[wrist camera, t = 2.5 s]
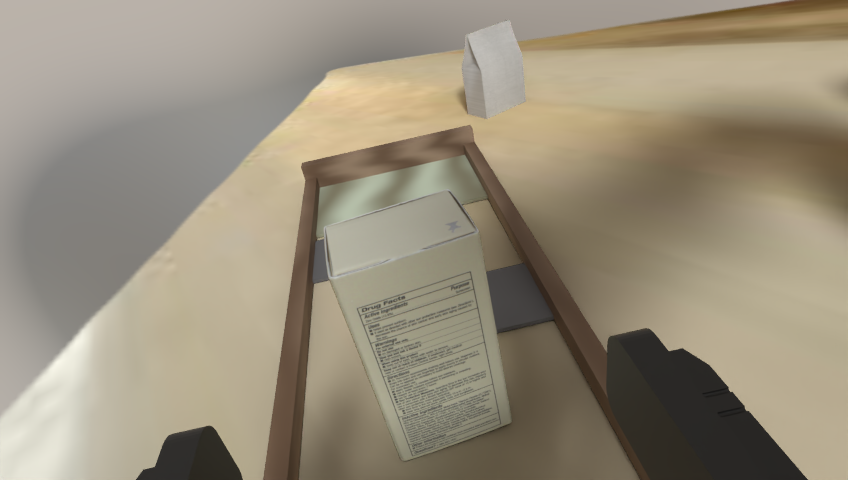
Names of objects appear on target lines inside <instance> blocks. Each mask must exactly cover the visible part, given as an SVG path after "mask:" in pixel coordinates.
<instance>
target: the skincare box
mask: <svg viewBox="0 0 848 480" xmlns="http://www.w3.org/2000/svg"><path fill="white" fill-rule="evenodd" d="M323 230H324V244H325V256H326V265H327V273H328V278H329V280H330V283H331V285H332V287H333V290H334V292H335V295H336V297H337V300H338V302H339V305H340V307H341V310H342V312H343V315H344V318H345V320H346V323H347V325H348V328H349V330H350V333H351V335H352V338H353V340H354V343H355V345H356V348H357V350H358V353H359V355H360V358H361V360H362V363H363V366H364V368H365V371H366V373H367V376H368V378H369V381H370V383H371V386H372V388H373V391H374V393H375V396H376V398H377V401H378V403H379V406H380V409H381V411H382V414H383V416H384V419H385V422H386V425H387V427H388V429H389V432H390V434H391V437H392V439H393V442H394V444H395V447H396V449H397V451H398V454H399V457H400V459H401V460H403V461H407V460H410V459H413V458H417V457H420V456H423V455H425V454H429V453H432V452H435V451H437V450H440V449H443V448H446V447H449V446H451V445H454V444H457V443H460V442H462V441H465V440H468V439H471V438H473V437H476V436H479V435H481V434H484V433H486V432H489V431H492V430H494V429H497V428H499V427H502V426H505V425H507V424H509V423H511V422H512V417H511V412H510V406H509V400H508V395H507V389H506V383H505V377H504V371H503V366H502V360H501V354H500V348H499V343H498V337H497V331H496V325H495V320H494V314H493V309H492V303H491V297H490V292H489V286H488V280H487V275H486V269H485V263H484V257H483V251H482V245H481V239H480V234H479V230H478V229H477V227H476V226H475V224H474V222H473V221H472V219H471V218H470V216H469V214H468V213H467V212H466V210H465V209H464V207H463V206H462V204H461V203H460V202H459V200H458V199H457V198H456V196H455V195H454V194H453V193H452V192H451V190H450V189H445V190H442V191H439V192H435V193H432V194H428V195H425V196H422V197H418V198H415V199H411V200H408V201H405V202H401V203H398V204H395V205H392V206H388V207H385V208H382V209H379V210H376V211H373V212H370V213H366V214H363V215H360V216H356V217H353V218H350V219H347V220H344V221H341V222H338V223H334V224H331V225H328V226H325V227H324V229H323Z"/></svg>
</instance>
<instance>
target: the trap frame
mask: <svg viewBox="0 0 848 480" xmlns="http://www.w3.org/2000/svg"><path fill="white" fill-rule="evenodd" d="M301 168H302V171H303V174H304V177H305V180H306V181H305V188H304V195H303V202H302V209H301V216H300V223H299V230H298V238H297V245H296V252H295V259H294V266H293V273H292V280H291V287H290V294H289V301H288V308H287V315H286V322H285V329H284V337H283V344H282V351H281V358H280V365H279V372H278V379H277V386H276V393H275V400H274V407H273V414H272V421H271V428H270V436H269V443H268V450H267V457H266V464H265V471H264V478H263V480H298V476H299V463H300V450H301V437H302V425H303V412H304V399H305V386H306V373H307V360H308V348H309V335H310V322H311V309H312V296H313V281H312V279H313V267H314V254H315V242H316V241H317V238H319V237H324V230H323V229H324V227H325V226H328V225H331V224H334V223H338V222H341V221H344V220H347V219H350V218H353V217H356V216H360V215H363V214H366V213H370V212H373V211H376V210H379V209H382V208H385V207H388V206H392V205H395V204H398V203H401V202H405V201H408V200H411V199H415V198H418V197H422V196H425V195H428V194H432V193H435V192H439V191H442V190H445V189H450V190H451V192H452V193H453V194H454V195H455V196H456V198H457V199H458V200H459V202H460V203H461V204H462V205H463V204H467V203H472V202H476V201H480V200H485V199H488V200H489V202H490V203H491V205H492V207H493V209H494V211H495V213H496V214H497V216H498V218H499V220H500V222H501V224H502V225H503V227H504V229H505V231H506V233H507V235H508V236H509V238H510V240H511V242H512V244H513V246H514V247H515V249H516V251H517V253H518V255H519V257H520V258H521V260H522V262H523V263H525V265H526V267H527V268H528V270H529V272H530V274H531V276H532V278H533V279H534V281H535V283H536V285H537V287H538V288H539V290H540V292H541V294H542V296H543V298H544V299H545V301H546V303H547V305H548V307H549V308H550V310H551V312H552V314H553V316H554V321H555V323H556V324H557V326H558V328H559V330H560V332H561V334H562V335H563V337H564V339H565V341H566V343H567V345H568V346H569V348H570V350H571V352H572V354H573V356H574V357H575V359H576V361H577V363H578V365H579V367H580V368H581V370H582V372H583V374H584V376H585V378H586V379H587V381H588V383H589V385H590V387H591V389H592V390H593V392H594V394H595V396H596V398H597V400H598V401H599V403H600V405H601V407H602V409H603V411H604V412H605V414H606V416H607V418H608V420H609V422H610V423H611V425H612V427H613V429H614V431H615V433H616V434H617V436H618V438H619V440H620V442H621V444H622V445H623V447H624V449H625V451H626V453H627V455H628V456H629V458H630V460H631V462H632V464H633V466H634V467H635V469H636V471H637V473H638V475H639V477H640V478H641V480H650V479H649V477H648V475H647V473H646V472H645V470H644V468H643V466H642V465H641V463H640V461H639V459H638V458H637V456H636V454H635V452H634V451H633V449H632V447H631V445H630V443H629V442H628V440H627V438H626V436H625V435H624V433H623V431H622V429H621V428H620V426H619V424H618V422H617V421H616V419H615V417H614V415H613V412H612V410H611V407H610V404H609V401H608V397H607V391H606V376H607V353H606V351H605V349H604V348H603V346H602V345H601V343H600V341H599V340H598V338H597V337H596V335H595V333H594V332H593V330H592V329H591V327H590V325H589V324H588V322H587V321H586V319H585V317H584V316H583V314H582V313H581V311H580V310H579V308H578V306H577V305H576V303H575V302H574V300H573V298H572V297H571V295H570V294H569V292H568V290H567V289H566V287H565V286H564V284H563V282H562V281H561V279H560V278H559V276H558V274H557V273H556V271H555V270H554V268H553V266H552V265H551V263H550V262H549V260H548V259H547V257H546V255H545V254H544V252H543V251H542V249H541V247H540V246H539V244H538V243H537V241H536V239H535V238H534V236H533V235H532V233H531V231H530V230H529V228H528V227H527V225H526V223H525V222H524V220H523V219H522V217H521V215H520V214H519V212H518V211H517V209H516V207H515V206H514V204H513V203H512V201H511V200H510V198H509V196H508V195H507V193H506V192H505V190H504V188H503V187H502V185H501V184H500V182H499V180H498V179H497V177H496V176H495V174H494V172H493V171H492V169H491V168H490V166H489V164H488V163H487V161H486V160H485V158H484V156H483V155H482V153H481V152H480V150H479V149H478V147H477V145H476V144H475V142H474V136H473V129H472V127H471V126H470V125H468V126H463V127H459V128H454V129H450V130H446V131H441V132H437V133H432V134H428V135H423V136H419V137H415V138H410V139H406V140H401V141H397V142H393V143H388V144H384V145H379V146H375V147H371V148H366V149H362V150H357V151H353V152H348V153H344V154H340V155H335V156H331V157H326V158H322V159H318V160H313V161H309V162H304V163H302V166H301Z"/></svg>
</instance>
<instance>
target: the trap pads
mask: <svg viewBox="0 0 848 480" xmlns="http://www.w3.org/2000/svg"><path fill="white" fill-rule="evenodd" d="M486 275H487V280H488V286H489V292H490V297H491V303H492V309H493V314H494V320H495V325H496V331H497V333H499V332H504V331H508V330H512V329H516V328H521V327H525V326H529V325H533V324H538V323H542V322H546V321H550V320H554V316H553V314H552V312H551V310H550V308H549V307H548V305H547V303H546V301H545V299H544V298H543V296H542V294H541V292H540V290H539V288H538V287H537V285H536V283H535V281H534V279H533V278H532V276H531V274H530V272H529V270H528V268H527V267H526V265H525V263H522V264H518V265H514V266H509V267H505V268H501V269H497V270H492V271H488V272H486ZM327 280H329V278H328V273H327V265H326V256H325V244H324V239H322V240H318V241H316V242H315V254H314V267H313V279H312V281H313V284H314V283H318V282H322V281H327Z"/></svg>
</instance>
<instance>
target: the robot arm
mask: <svg viewBox="0 0 848 480" xmlns="http://www.w3.org/2000/svg"><path fill="white" fill-rule="evenodd" d="M606 391H607V397H608V401H609V404H610V407H611V410H612V412H613V415H614V417H615V419H616V421H617V422H618V424H619V426H620V428H621V429H622V431H623V433H624V435H625V436H626V438H627V440H628V442H629V443H630V445H631V447H632V449H633V451H634V452H635V454H636V456H637V458H638V459H639V461H640V463H641V465H642V466H643V468H644V470H645V472H646V473H647V475H648V477H649V479H650V480H808V479H807V478H806V477H805V476H804V475H803V474H802V472H801V471H800V470H799V469H798V468H797V467H796V465H795V464H794V463H793V462H792V461H791V460H790V458H789V457H788V456H787V455H786V454H785V453H784V452H783V450H782V449H781V448H780V447H779V446H778V445H777V443H776V442H775V441H774V440H773V439H772V438H771V436H770V435H769V434H768V433H767V432H766V431H765V429H764V428H763V427H762V426H761V425H760V424H759V422H758V421H757V420H756V419H755V418H754V417H753V415H752V414H751V413H750V412H749V411H746V410H745V406H744V405H743V404H742V403H741V402H740V400H739V399H738V398H737V397H736V396H735V395H734V393H733V392H730V391H729V389H728V386H727V385H726V384H725V383H724V382H723V381H722V379H721V378H720V377H719V376H718V375H717V374H716V372H715V371H714V370H713V369H712V368H711V367H710V365H708V364H707V363H705V362H703V361H702V360H700V359H699V358H697V357H696V356H694V355H692V354H691V353H689V352H688V351H686V350H684V349H683V348H682V349H678V350H673V351H668V350H667V349H666V347H665V346H664V345H663V344H662V342H661V341H660V340H659V338H658V337H657V336H656V335H655V334H654V332H652V331H651V330H650V329H647V328H645V329H640V330H636V331H632V332H627V333H623V334H618V335H614V336H610V337H609V339H608V345H607V376H606ZM136 480H243V479H242V475H241V472H240V470H239V468H238V467H237V465H236V463H235V462H234V460H233V458H232V457H231V455H230V453H229V452H228V450H227V448H226V446H225V445H224V443H223V441H222V440H221V438H220V436H219V435H218V433H217V431H216V430H215V429H214V428H213V427H212V426H206V427H201V428H197V429H192V430H188V431H183V432H179V433H175V434H171V435H169V436H168V437H167V438H166V440H165V441H164V443H163V446H162V449H161V452H160V454H159V457H158V460H157V463H156V466H155V467H153V468H149V469H145V470H143V471H142V472H141V474H140V475H139V476H138V478H137V479H136Z"/></svg>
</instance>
